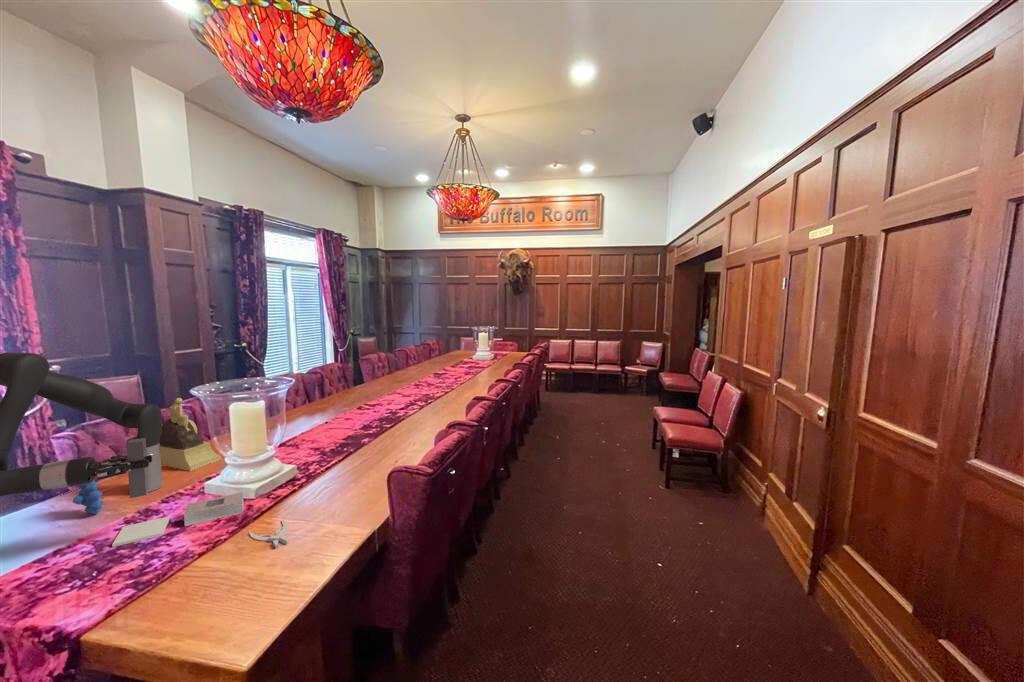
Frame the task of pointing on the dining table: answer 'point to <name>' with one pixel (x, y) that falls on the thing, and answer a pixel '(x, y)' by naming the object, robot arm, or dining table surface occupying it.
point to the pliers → (274, 538)
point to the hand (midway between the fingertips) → (149, 460)
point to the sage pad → (141, 531)
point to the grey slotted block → (213, 509)
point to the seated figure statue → (183, 442)
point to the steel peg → (137, 476)
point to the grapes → (89, 497)
